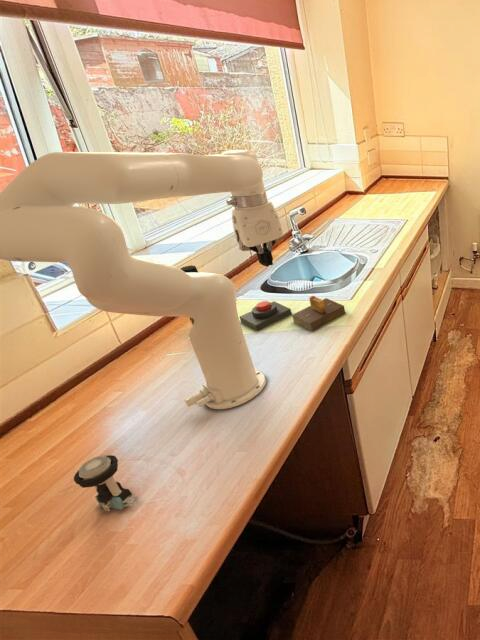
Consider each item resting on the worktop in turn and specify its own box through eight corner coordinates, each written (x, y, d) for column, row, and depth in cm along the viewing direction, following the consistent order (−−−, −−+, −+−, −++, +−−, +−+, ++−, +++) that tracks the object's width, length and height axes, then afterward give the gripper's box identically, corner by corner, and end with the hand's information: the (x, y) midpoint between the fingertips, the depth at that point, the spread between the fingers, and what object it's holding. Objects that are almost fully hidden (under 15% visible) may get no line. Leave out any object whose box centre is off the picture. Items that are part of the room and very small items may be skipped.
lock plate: (312, 331, 120) (310, 323, 119) (294, 322, 124) (291, 314, 123) (345, 313, 130) (343, 305, 128) (327, 305, 134) (326, 297, 132)
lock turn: (325, 311, 125) (323, 299, 123) (321, 313, 124) (319, 301, 122) (315, 306, 127) (313, 295, 126) (311, 308, 126) (309, 297, 125)
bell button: (261, 313, 123) (260, 308, 122) (255, 309, 124) (253, 304, 124) (273, 307, 125) (271, 303, 125) (266, 304, 127) (265, 299, 126)
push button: (150, 492, 73) (129, 454, 69) (120, 521, 69) (96, 482, 65) (119, 487, 74) (97, 449, 70) (87, 515, 69) (61, 476, 65)
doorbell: (257, 331, 120) (254, 320, 118) (241, 322, 124) (237, 311, 122) (291, 314, 129) (289, 303, 127) (275, 306, 133) (272, 296, 131)
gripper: (226, 209, 94) (246, 278, 102) (286, 195, 106) (300, 258, 113) (210, 204, 98) (230, 271, 105) (270, 191, 109) (285, 252, 117)
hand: (267, 264), depth 109 cm, fingers closed
